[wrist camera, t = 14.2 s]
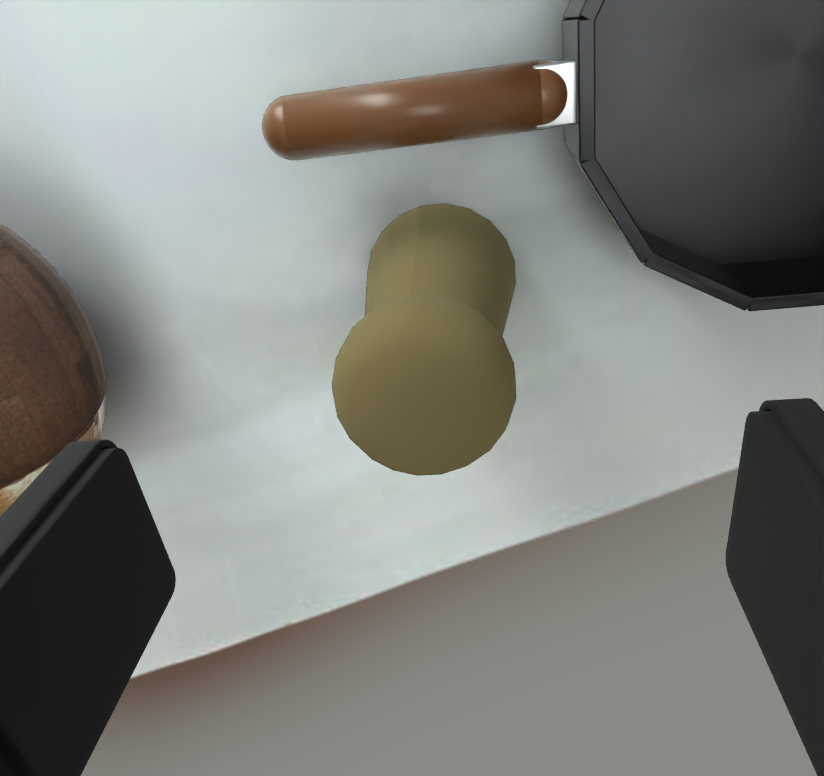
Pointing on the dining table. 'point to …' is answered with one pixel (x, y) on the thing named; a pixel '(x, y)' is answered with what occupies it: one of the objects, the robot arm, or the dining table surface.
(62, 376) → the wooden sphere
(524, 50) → the dining table surface
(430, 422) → the olive game pawn
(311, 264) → the dining table surface
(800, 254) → the frying pan
